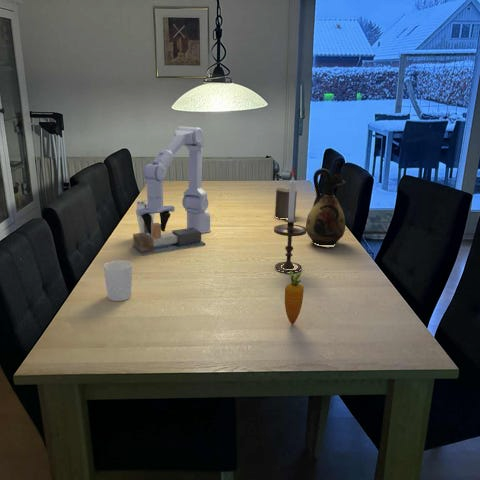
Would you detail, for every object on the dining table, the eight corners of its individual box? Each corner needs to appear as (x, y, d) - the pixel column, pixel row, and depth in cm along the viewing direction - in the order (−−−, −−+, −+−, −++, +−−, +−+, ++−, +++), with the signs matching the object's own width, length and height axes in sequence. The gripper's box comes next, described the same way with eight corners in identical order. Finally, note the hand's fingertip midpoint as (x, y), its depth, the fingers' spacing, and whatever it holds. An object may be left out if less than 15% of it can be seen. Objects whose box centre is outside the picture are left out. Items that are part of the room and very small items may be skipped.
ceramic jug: (347, 242, 204) (354, 168, 195) (338, 252, 190) (344, 174, 181) (307, 236, 211) (312, 164, 202) (295, 246, 197) (300, 170, 188)
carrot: (281, 320, 136) (284, 267, 131) (299, 319, 136) (302, 267, 132) (284, 328, 131) (287, 274, 126) (303, 328, 131) (306, 274, 127)
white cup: (138, 293, 150) (136, 262, 147) (124, 304, 143) (122, 271, 140) (115, 289, 153) (113, 258, 150) (100, 299, 146) (98, 267, 143)
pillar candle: (272, 218, 236) (273, 187, 231) (278, 214, 245) (280, 183, 240) (291, 221, 233) (294, 189, 228) (297, 216, 241) (299, 185, 237)
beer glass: (151, 241, 199) (150, 204, 194) (134, 240, 200) (133, 203, 195) (157, 236, 205) (156, 200, 201) (141, 235, 206) (140, 199, 202)
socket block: (144, 243, 193) (144, 232, 192) (153, 250, 186) (153, 238, 185) (133, 245, 191) (133, 234, 190) (142, 252, 184) (141, 240, 182)
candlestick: (283, 276, 166) (288, 171, 156) (266, 266, 175) (270, 165, 165) (310, 271, 171) (317, 169, 160) (292, 261, 180) (298, 164, 170)
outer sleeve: (192, 237, 205) (192, 225, 204) (205, 245, 196) (205, 232, 195) (131, 247, 192) (130, 234, 190) (142, 255, 183) (141, 242, 182)
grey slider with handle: (178, 239, 198) (178, 219, 195) (182, 241, 194) (182, 222, 192) (139, 245, 190) (138, 224, 187) (143, 248, 186) (142, 227, 184)
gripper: (140, 200, 179) (141, 237, 183) (177, 196, 186) (178, 232, 190) (133, 196, 184) (134, 232, 188) (169, 193, 192) (170, 227, 196)
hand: (156, 231), depth 190 cm, fingers open, 5 cm apart
